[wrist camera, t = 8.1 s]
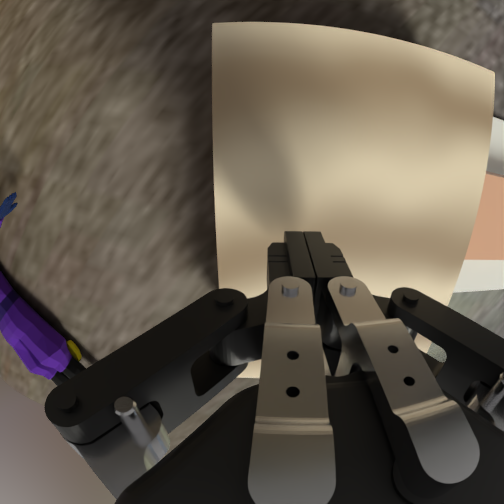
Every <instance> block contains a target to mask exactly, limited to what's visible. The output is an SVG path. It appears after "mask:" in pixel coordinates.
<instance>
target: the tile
mask: <svg viewBox="0 0 504 504" xmlns="http://www.w3.org/2000/svg"><path fill="white" fill-rule="evenodd" d="M464 260H504V175H501V174H497V173H493V172H489V171H486V174H485V179H484V185H483V190H482V194H481V199H480V204H479V208H478V212H477V216H476V220H475V224H474V228H473V232H472V235H471V239H470V242H469V246H468V249H467V252H466V255H465V259H464Z"/></svg>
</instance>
